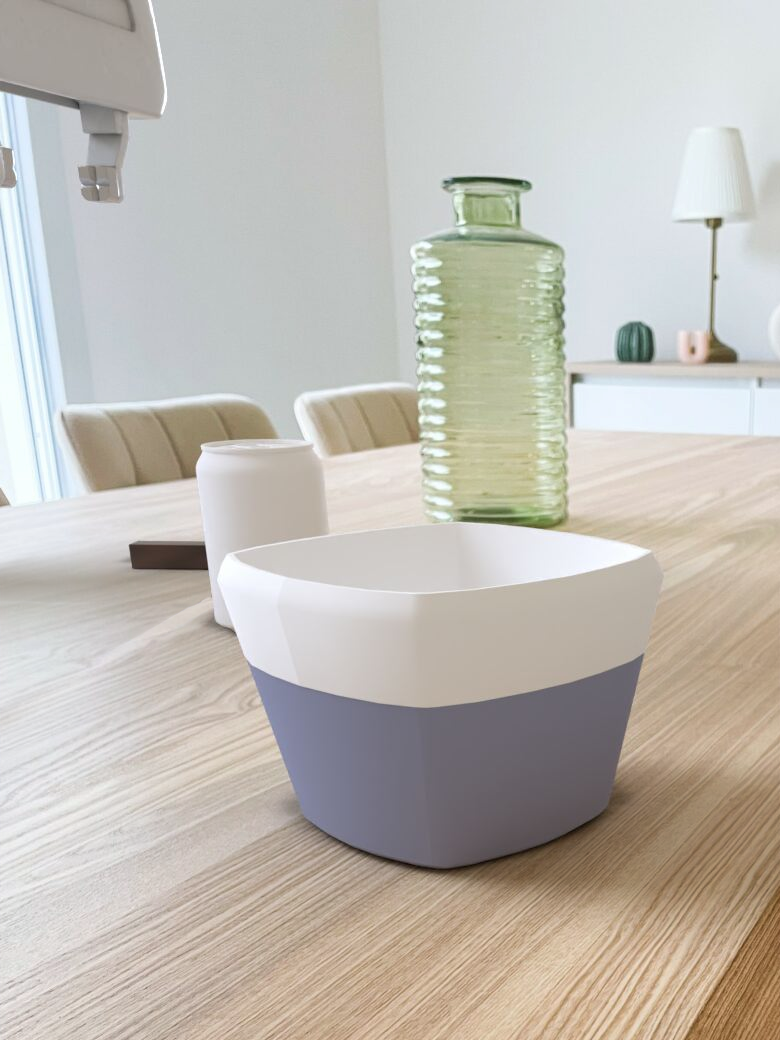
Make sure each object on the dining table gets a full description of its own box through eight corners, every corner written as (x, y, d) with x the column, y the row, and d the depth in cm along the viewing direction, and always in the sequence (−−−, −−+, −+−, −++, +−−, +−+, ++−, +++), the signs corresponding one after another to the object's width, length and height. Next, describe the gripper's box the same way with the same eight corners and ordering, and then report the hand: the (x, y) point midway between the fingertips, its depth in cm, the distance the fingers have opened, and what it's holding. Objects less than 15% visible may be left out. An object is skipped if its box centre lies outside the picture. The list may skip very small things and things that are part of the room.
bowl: (708, 810, 56) (713, 550, 52) (431, 923, 46) (409, 608, 42) (474, 738, 66) (462, 513, 62) (200, 818, 55) (162, 554, 51)
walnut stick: (131, 568, 110) (128, 544, 109) (141, 564, 112) (137, 540, 111) (271, 569, 109) (269, 545, 108) (279, 565, 111) (276, 542, 110)
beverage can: (245, 644, 84) (222, 452, 80) (197, 623, 90) (173, 442, 85) (358, 627, 89) (342, 444, 84) (305, 608, 95) (288, 436, 90)
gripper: (77, -63, 74) (111, 209, 79) (-212, -189, 55) (-142, 176, 61) (178, -66, 73) (206, 210, 78) (-83, -196, 54) (-23, 177, 60)
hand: (52, 195), depth 69 cm, fingers open, 8 cm apart
